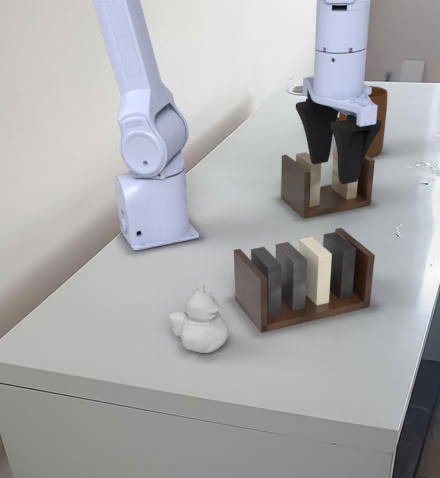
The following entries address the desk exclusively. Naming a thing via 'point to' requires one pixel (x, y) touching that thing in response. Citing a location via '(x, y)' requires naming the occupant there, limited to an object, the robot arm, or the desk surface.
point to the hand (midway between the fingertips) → (333, 172)
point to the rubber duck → (200, 323)
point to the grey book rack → (301, 282)
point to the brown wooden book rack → (325, 197)
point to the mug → (380, 100)
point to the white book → (316, 270)
